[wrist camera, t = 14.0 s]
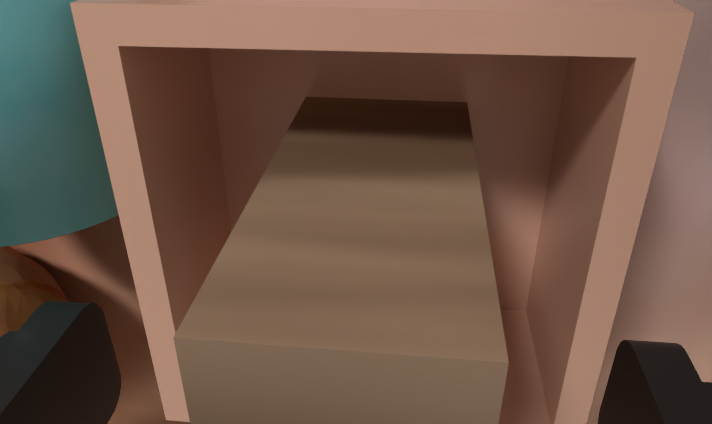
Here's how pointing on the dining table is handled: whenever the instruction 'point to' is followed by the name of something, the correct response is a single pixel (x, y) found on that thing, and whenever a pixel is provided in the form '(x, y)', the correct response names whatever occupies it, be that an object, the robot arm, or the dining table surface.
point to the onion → (23, 289)
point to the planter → (396, 82)
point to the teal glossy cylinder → (47, 128)
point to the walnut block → (354, 279)
